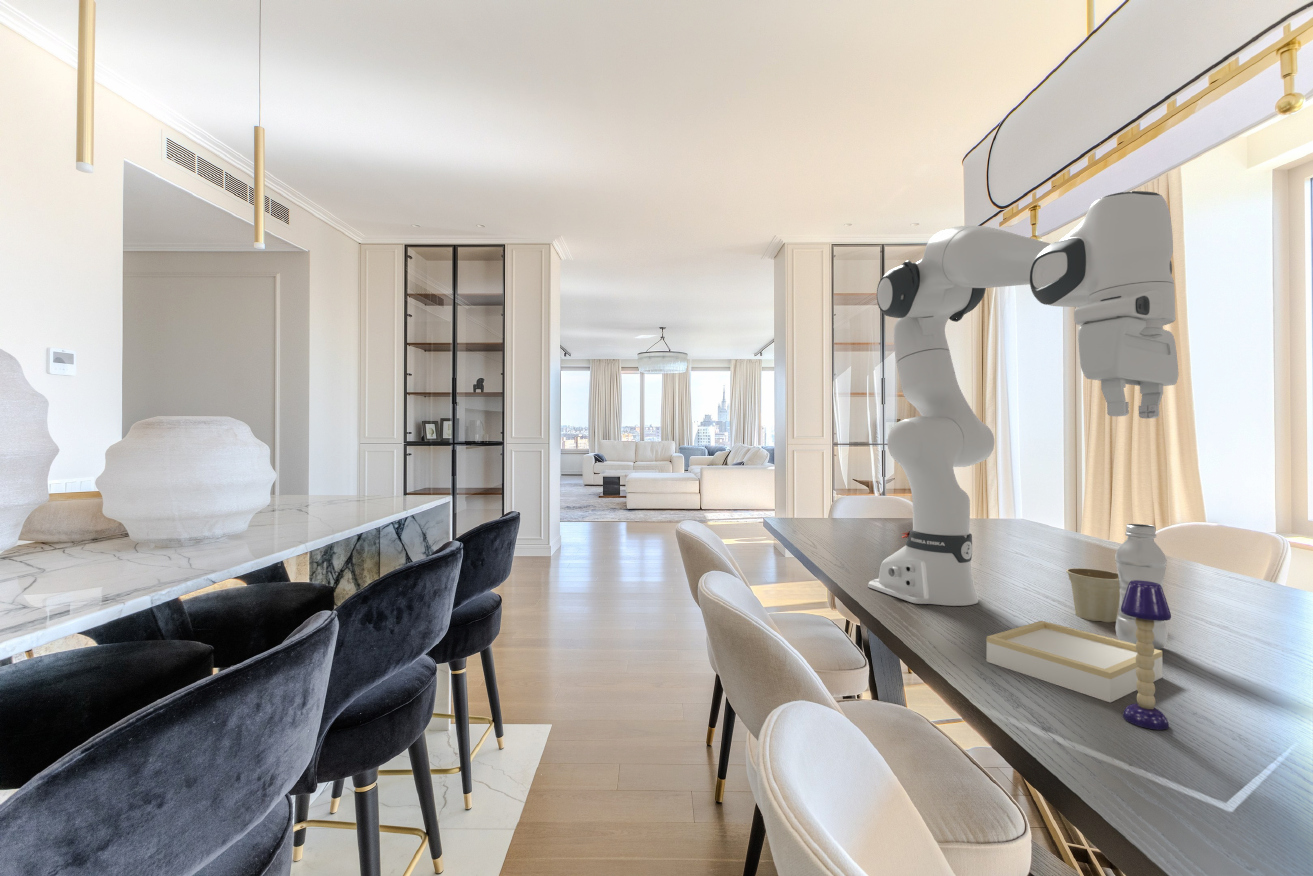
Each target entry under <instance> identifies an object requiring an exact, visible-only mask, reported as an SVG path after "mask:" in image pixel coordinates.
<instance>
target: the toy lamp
mask: <svg viewBox="0 0 1313 876" xmlns="http://www.w3.org/2000/svg"><path fill="white" fill-rule="evenodd" d="M1167 601H1168V600H1167V598H1166V595H1165V593H1164V588H1163V589H1162V587H1161V585H1160V584H1158V583H1155V582H1149V581H1141V580H1133V581H1130V582H1129V585H1128V587H1127V591H1126V593H1125V596H1124V600H1123V603H1122V606H1121V612H1122V613H1123V614H1125V615H1128V616H1131V617H1135V618H1136V620H1135V623H1136V626H1137V630H1136V633H1135V635H1136V638H1137V640H1138V641H1137V642H1136V651H1137V655H1136V664H1137V666H1138V667H1137V669H1136V676H1137V678H1138V680H1137V683H1136V687H1137V690H1136V691H1137V692H1138V693H1137V694H1136V701H1137V703H1131V704H1128V705H1127V706H1126V707H1125V708H1124V710H1123V713H1122V718H1123V719H1124V720H1125V721H1127V722H1128V723H1130V724H1132V725H1134V726H1138V727H1142V728H1146V729H1149V730H1150V729H1151V730H1157V731H1158V730H1159V731H1161V730H1162V731H1163V730H1167V729H1169V727H1170V724H1169V721H1168V719H1167V717H1166V715H1165V714H1164V713H1163V712H1162V711H1161V710H1160V709H1158V708H1156V707H1155V706H1156V698H1155V695H1154V694H1155V693H1156V685H1155V684H1154V682H1155V681H1154V679H1155V673H1154V671H1153V667H1154V663H1155V662H1154V658H1153V656H1152V655H1153V654H1154V646H1153V644H1152V642H1153V641H1154V633H1153V631H1152V629H1153V628H1154V620H1156V621H1164V622H1165V621H1170V620H1171V618H1172V615H1171V609H1170V608H1169V604H1168V602H1167ZM1153 681H1154V682H1153Z"/></svg>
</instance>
